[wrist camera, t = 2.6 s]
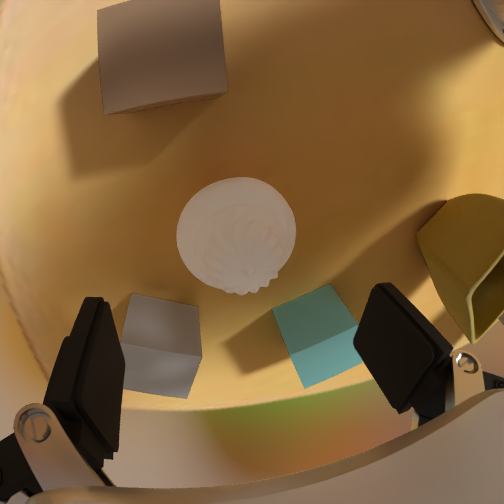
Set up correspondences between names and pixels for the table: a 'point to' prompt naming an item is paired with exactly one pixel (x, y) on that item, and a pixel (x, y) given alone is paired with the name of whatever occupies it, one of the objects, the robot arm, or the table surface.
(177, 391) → the grey cube
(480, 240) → the flower pot
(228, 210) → the muffin
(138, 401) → the table surface
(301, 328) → the teal cube
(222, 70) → the walnut cube
